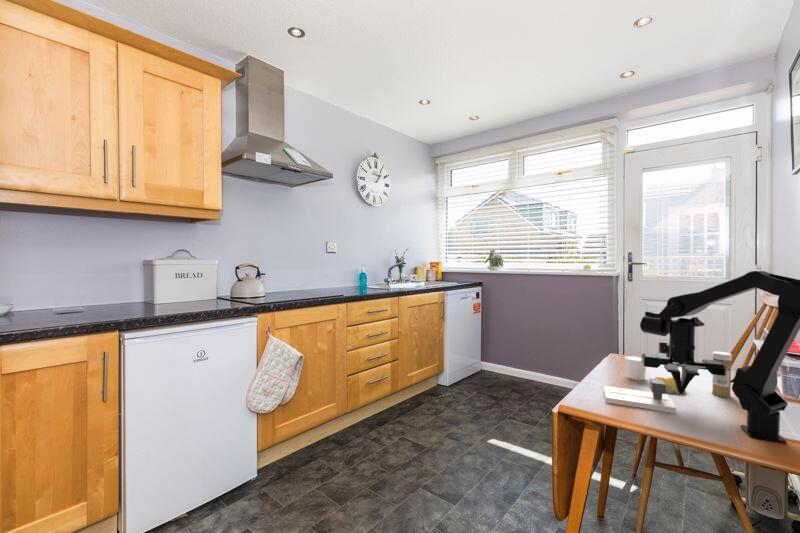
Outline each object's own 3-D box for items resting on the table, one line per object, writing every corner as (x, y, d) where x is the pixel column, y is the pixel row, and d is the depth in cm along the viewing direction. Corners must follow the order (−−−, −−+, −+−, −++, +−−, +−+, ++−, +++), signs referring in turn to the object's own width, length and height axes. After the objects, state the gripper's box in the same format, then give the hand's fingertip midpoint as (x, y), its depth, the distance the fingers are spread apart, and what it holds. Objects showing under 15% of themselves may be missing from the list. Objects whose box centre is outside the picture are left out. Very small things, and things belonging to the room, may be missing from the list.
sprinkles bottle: (732, 395, 115) (734, 353, 115) (727, 399, 112) (729, 355, 112) (714, 391, 119) (715, 350, 118) (709, 394, 116) (710, 352, 116)
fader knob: (665, 401, 106) (665, 384, 106) (652, 399, 107) (652, 382, 107) (662, 395, 110) (662, 380, 109) (649, 394, 111) (649, 378, 111)
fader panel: (676, 413, 102) (676, 407, 102) (606, 402, 109) (606, 397, 109) (667, 399, 112) (667, 394, 112) (603, 390, 119) (603, 385, 119)
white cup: (627, 379, 130) (627, 359, 130) (621, 373, 137) (621, 354, 136) (649, 381, 128) (649, 361, 128) (642, 375, 135) (643, 356, 134)
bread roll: (647, 384, 126) (647, 372, 126) (678, 387, 123) (678, 375, 123) (656, 392, 118) (656, 380, 118) (689, 396, 115) (690, 383, 115)
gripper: (714, 337, 109) (712, 389, 109) (639, 331, 117) (638, 379, 117) (727, 345, 99) (725, 403, 99) (644, 338, 107) (643, 391, 107)
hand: (680, 393), depth 106 cm, fingers closed
